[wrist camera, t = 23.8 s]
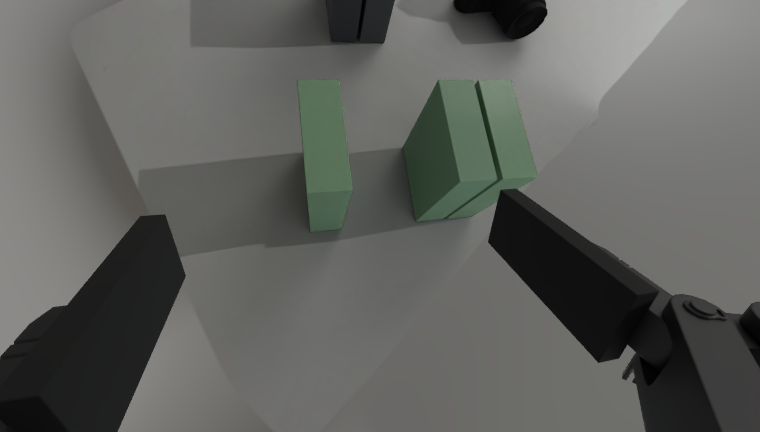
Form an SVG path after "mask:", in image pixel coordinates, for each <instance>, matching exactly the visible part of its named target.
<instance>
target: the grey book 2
mask: <svg viewBox="0 0 760 432" xmlns="http://www.w3.org/2000/svg"><path fill="white" fill-rule="evenodd" d="M394 1H395V0H362V5H361V12H360V19H359V26H358V33H359V40H360V42H372V43H384V41H385V37H386V33H387V29H388V25H389V21H390V17H391V13H392V9H393V5H394Z"/></svg>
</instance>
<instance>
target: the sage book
mask: <svg viewBox="0 0 760 432" xmlns="http://www.w3.org/2000/svg"><path fill="white" fill-rule="evenodd" d="M297 85H298V97H299V109H300V121H301V133H302V145H303V156H304V168H305V180H306V192H307V202H308V212H309V222H310V232H318V231H329V230H340V229H342V225H343V222H344V218H345V215H346V211H347V208H348V205H349V201H350V198H351V194H352V191H353V187H352V179H351V171H350V163H349V155H348V147H347V138H346V130H345V122H344V114H343V106H342V98H341V89H340V81H339V80H297Z"/></svg>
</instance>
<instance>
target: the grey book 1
mask: <svg viewBox="0 0 760 432" xmlns="http://www.w3.org/2000/svg"><path fill="white" fill-rule="evenodd" d="M326 5H327V13H328V22H329V30H330V38H331V41H335V42H356V39H357V32H358V26H359V19H360V12H361V5H362V0H326Z"/></svg>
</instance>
